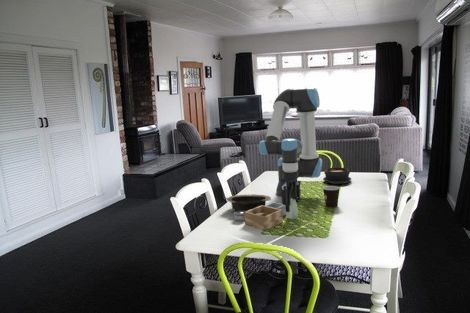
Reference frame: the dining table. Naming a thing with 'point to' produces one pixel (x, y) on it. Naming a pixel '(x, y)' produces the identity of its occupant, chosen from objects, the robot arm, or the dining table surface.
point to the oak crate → (263, 217)
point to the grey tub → (278, 207)
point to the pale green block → (293, 208)
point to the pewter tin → (239, 216)
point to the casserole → (337, 175)
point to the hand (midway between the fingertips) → (292, 216)
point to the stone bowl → (247, 201)
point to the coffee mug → (331, 196)
